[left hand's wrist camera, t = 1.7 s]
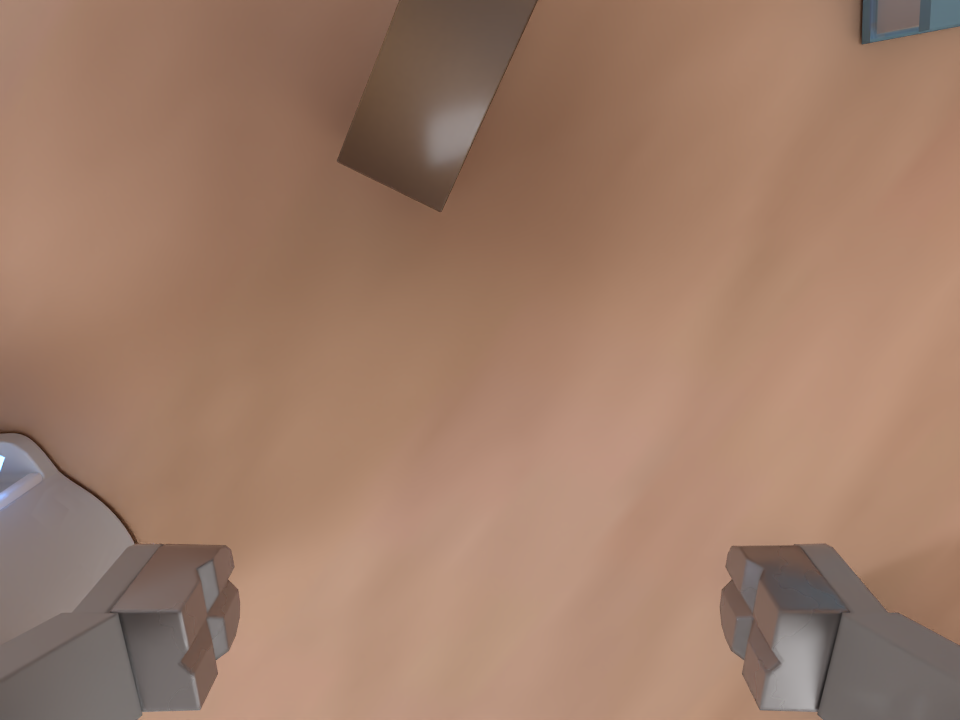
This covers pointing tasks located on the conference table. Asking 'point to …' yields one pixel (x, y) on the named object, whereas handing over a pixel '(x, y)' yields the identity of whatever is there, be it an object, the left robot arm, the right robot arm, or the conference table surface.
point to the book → (907, 18)
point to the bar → (432, 92)
